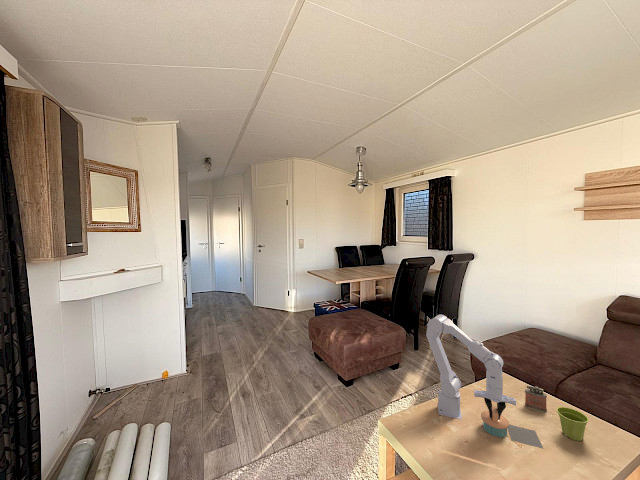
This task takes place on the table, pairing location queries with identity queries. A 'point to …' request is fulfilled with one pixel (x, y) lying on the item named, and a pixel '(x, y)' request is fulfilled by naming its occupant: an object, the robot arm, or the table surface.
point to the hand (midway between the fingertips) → (494, 417)
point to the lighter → (535, 398)
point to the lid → (494, 419)
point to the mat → (524, 436)
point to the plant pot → (572, 423)
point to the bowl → (495, 430)
